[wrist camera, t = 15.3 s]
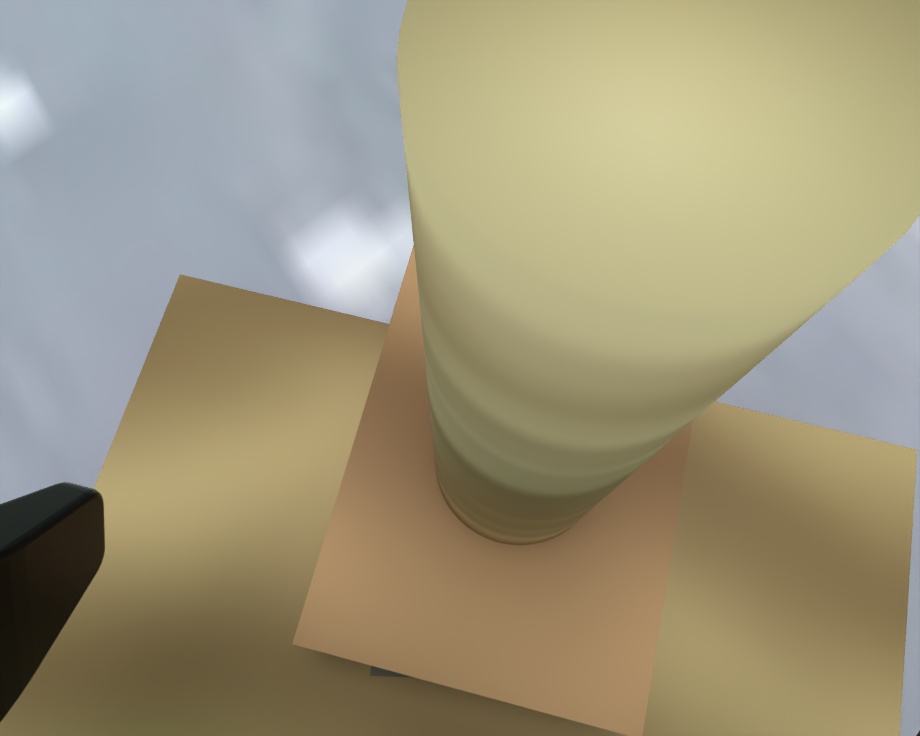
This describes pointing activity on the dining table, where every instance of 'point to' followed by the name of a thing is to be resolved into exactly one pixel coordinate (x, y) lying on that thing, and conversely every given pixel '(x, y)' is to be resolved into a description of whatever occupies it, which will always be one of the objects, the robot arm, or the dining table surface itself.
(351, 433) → the board
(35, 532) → the robot arm
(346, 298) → the dining table surface
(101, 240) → the dining table surface
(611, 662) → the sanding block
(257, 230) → the dining table surface
